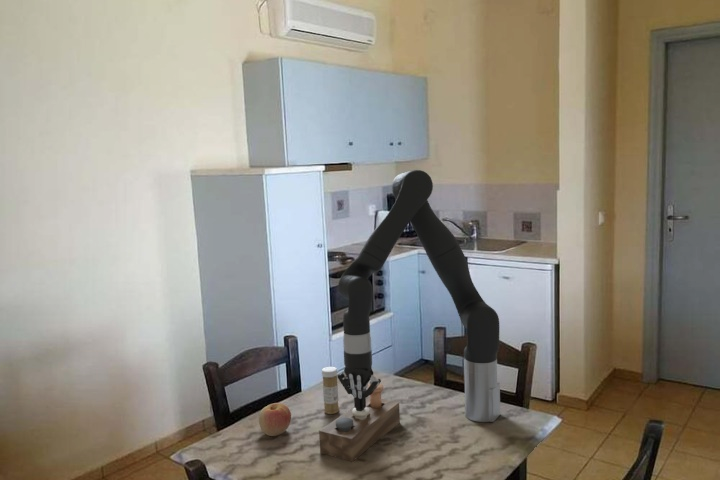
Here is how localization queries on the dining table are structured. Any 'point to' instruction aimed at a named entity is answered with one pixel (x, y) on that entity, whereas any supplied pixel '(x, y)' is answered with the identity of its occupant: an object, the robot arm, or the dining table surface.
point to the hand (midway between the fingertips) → (360, 409)
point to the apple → (274, 419)
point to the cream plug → (360, 413)
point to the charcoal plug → (344, 424)
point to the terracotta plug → (376, 397)
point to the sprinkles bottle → (330, 390)
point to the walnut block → (359, 431)
